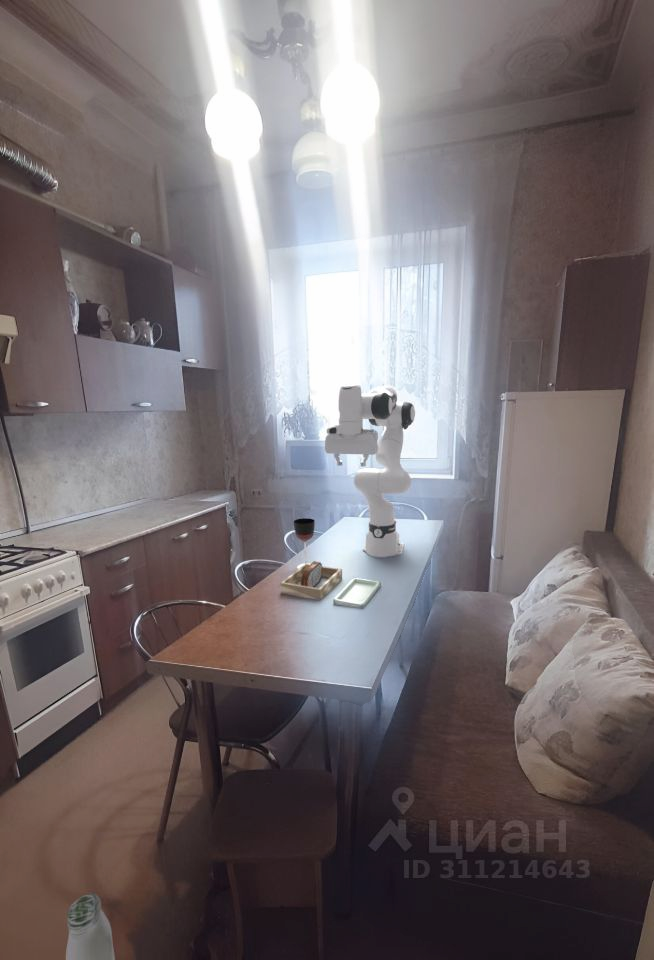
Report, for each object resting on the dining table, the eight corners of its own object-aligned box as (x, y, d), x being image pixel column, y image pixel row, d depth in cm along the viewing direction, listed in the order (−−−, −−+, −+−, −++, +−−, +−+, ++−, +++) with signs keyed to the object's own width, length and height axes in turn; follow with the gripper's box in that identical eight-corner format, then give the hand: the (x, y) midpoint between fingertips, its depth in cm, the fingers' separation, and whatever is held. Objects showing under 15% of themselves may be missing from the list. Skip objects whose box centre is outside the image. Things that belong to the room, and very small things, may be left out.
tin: (316, 577, 172) (315, 557, 170) (323, 578, 171) (323, 558, 169) (300, 593, 158) (299, 572, 157) (308, 595, 157) (307, 573, 156)
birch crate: (305, 573, 177) (305, 563, 176) (342, 578, 170) (342, 569, 170) (280, 593, 159) (280, 583, 158) (320, 600, 152) (320, 589, 152)
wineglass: (313, 571, 179) (312, 524, 175) (293, 569, 180) (291, 523, 177) (318, 563, 186) (316, 518, 183) (298, 562, 188) (296, 518, 184)
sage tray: (353, 583, 166) (353, 577, 166) (380, 587, 162) (380, 581, 161) (333, 605, 148) (333, 599, 148) (362, 611, 144) (362, 604, 144)
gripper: (380, 428, 160) (380, 465, 162) (329, 428, 168) (330, 463, 171) (375, 429, 154) (375, 468, 157) (322, 429, 163) (323, 466, 165)
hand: (351, 466), depth 164 cm, fingers open, 8 cm apart
